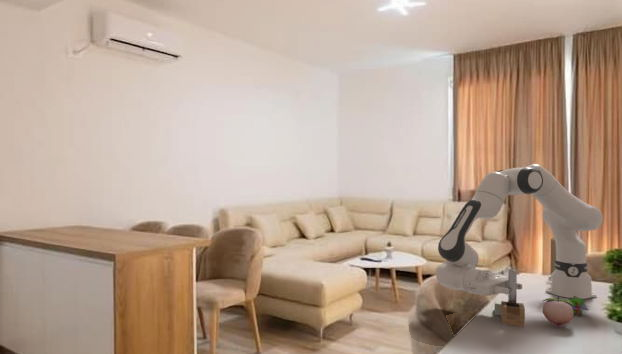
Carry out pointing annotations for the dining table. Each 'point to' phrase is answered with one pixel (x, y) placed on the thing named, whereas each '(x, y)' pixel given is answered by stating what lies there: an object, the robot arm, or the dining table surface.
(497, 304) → the block
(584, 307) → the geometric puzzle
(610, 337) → the dining table surface
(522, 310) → the brown cube-like block
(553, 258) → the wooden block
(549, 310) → the decorative fruit
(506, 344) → the dining table surface
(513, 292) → the pin gauge
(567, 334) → the dining table surface
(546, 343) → the dining table surface
